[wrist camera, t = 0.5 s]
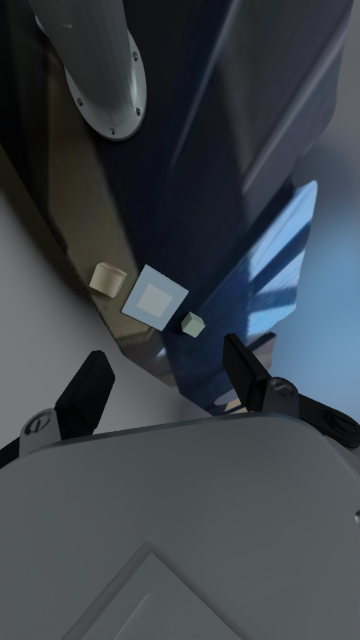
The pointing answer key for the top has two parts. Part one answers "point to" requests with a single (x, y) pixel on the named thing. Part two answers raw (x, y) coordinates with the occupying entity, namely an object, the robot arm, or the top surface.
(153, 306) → the board
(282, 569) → the robot arm
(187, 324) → the sage block
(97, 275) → the birch block
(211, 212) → the top surface
